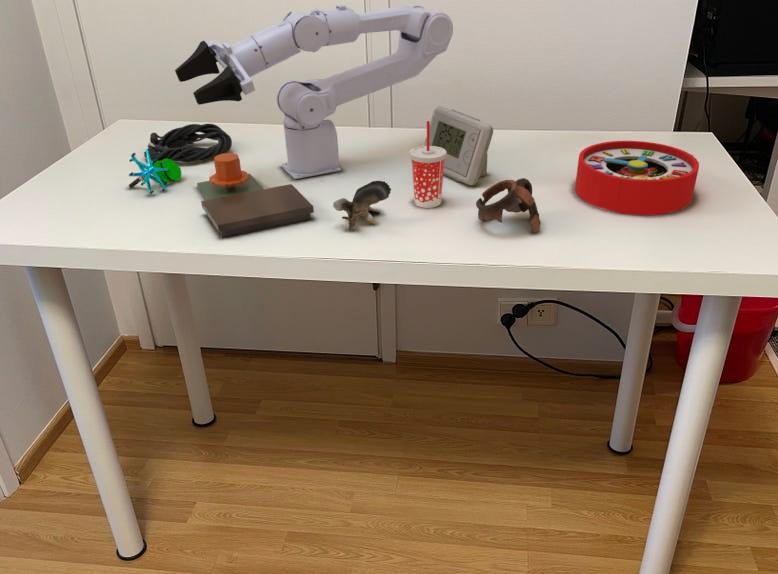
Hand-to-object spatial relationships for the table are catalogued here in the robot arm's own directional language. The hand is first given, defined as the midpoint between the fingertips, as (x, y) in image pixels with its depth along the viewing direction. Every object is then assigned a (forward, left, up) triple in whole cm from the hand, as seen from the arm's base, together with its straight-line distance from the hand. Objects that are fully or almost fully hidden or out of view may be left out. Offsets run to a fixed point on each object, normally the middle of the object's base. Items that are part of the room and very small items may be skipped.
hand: (186, 87), depth 124 cm
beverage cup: (-33, +24, -18) cm, 45 cm away
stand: (-5, +16, -18) cm, 25 cm away
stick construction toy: (+8, -7, -18) cm, 21 cm away
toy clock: (-67, +37, -18) cm, 79 cm away
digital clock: (-44, +14, -18) cm, 50 cm away
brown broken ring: (-41, +38, -18) cm, 59 cm away
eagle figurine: (-20, +26, -18) cm, 38 cm away
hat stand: (-4, +3, -18) cm, 19 cm away
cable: (-2, -21, -18) cm, 28 cm away
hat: (-4, +3, -16) cm, 17 cm away
